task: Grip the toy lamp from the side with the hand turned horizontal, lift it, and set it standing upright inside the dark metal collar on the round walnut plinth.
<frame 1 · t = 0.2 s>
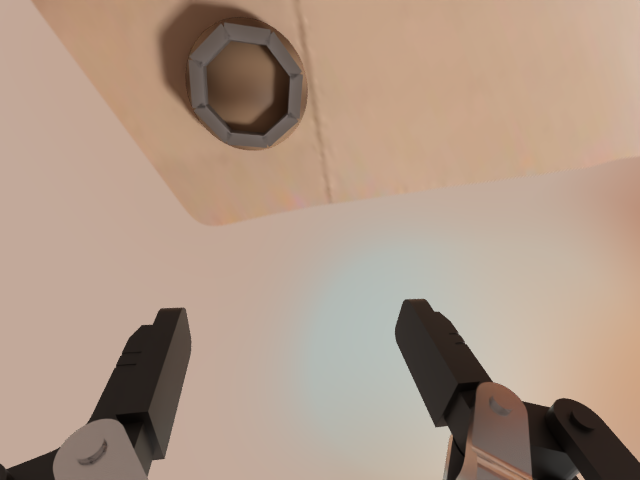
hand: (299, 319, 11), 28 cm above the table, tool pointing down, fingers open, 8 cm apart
plinth: (249, 89, 32), on the table
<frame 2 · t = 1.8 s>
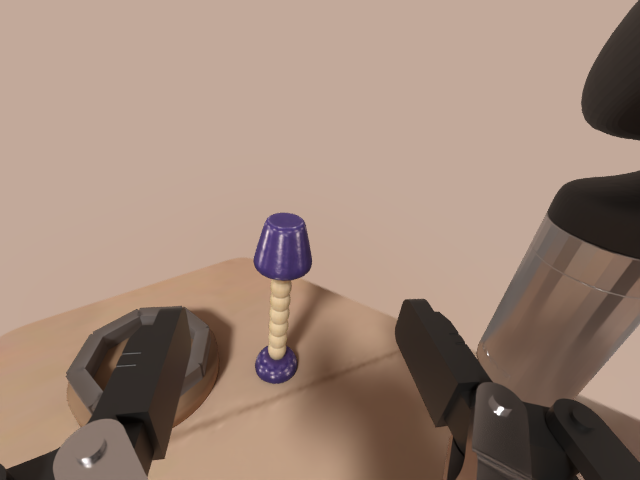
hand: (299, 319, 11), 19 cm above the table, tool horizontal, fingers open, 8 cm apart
toy lamp: (279, 366, 31), on the table
plinth: (153, 375, 29), on the table
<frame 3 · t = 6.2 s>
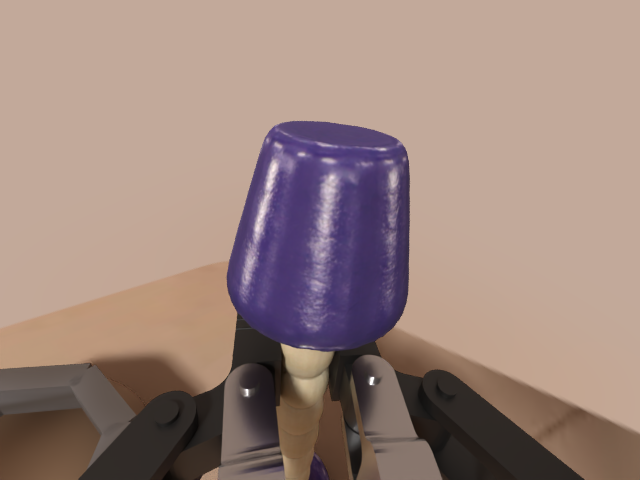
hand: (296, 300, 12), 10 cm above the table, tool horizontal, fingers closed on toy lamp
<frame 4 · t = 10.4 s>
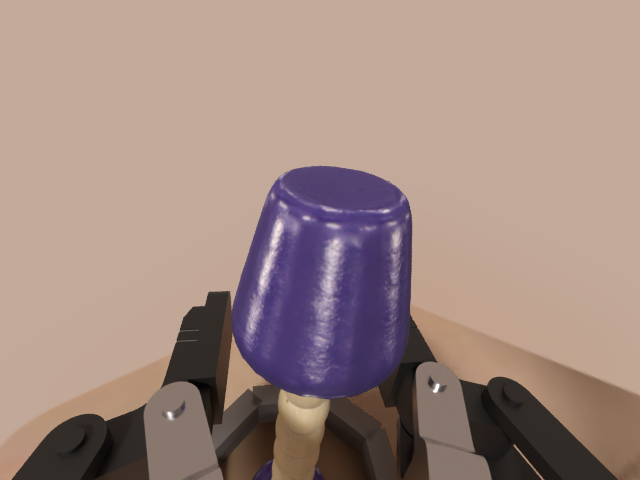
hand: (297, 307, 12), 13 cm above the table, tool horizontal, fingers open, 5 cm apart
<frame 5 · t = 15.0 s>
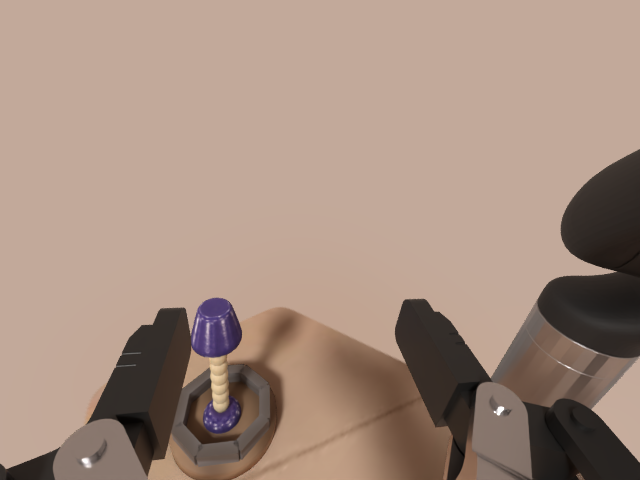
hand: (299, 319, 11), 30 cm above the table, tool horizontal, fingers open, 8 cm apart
toy lamp: (225, 415, 35), point 2 cm above the table, touching plinth
plinth: (225, 423, 36), on the table
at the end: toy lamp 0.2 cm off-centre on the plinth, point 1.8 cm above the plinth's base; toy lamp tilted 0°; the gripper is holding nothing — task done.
